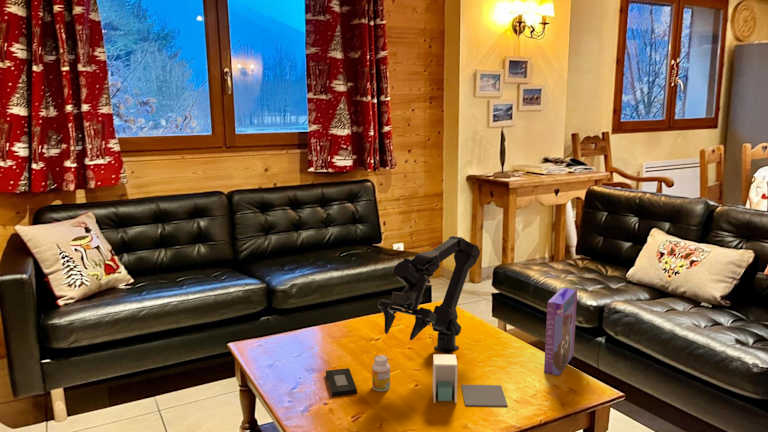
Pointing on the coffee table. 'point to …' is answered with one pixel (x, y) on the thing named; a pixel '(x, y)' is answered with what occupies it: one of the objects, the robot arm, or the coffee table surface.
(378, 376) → the supplement bottle
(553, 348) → the cereal box
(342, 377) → the vhs tape
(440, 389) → the teal cube
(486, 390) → the mat
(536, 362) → the coffee table surface
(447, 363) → the white boxy piece
